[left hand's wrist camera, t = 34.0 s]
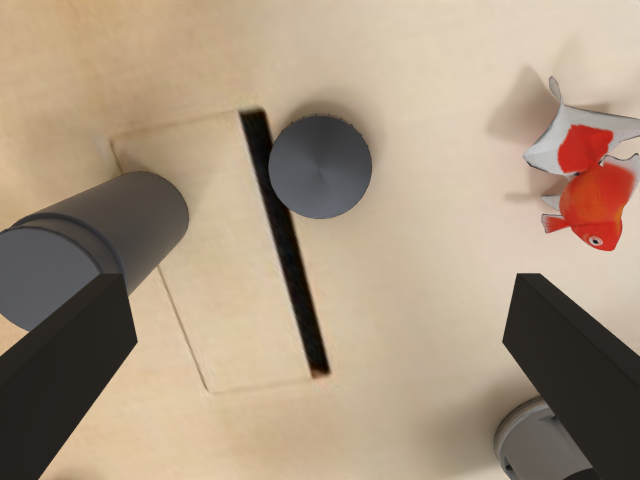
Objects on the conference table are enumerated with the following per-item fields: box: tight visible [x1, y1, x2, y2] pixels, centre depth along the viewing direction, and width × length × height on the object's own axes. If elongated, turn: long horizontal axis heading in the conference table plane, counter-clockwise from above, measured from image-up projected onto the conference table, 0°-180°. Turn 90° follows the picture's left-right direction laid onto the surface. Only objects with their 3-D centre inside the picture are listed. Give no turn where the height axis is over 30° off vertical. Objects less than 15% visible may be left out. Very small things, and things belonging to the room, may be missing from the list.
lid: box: [268, 113, 372, 219], centre depth 36 cm, size 10×10×2 cm
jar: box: [0, 172, 189, 332], centre depth 32 cm, size 9×9×16 cm
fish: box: [522, 76, 640, 251], centre depth 33 cm, size 11×16×10 cm
